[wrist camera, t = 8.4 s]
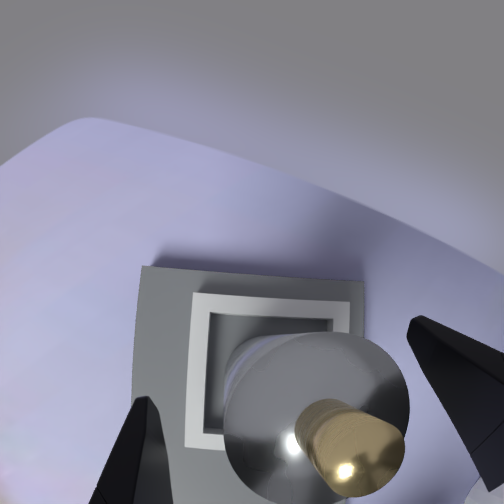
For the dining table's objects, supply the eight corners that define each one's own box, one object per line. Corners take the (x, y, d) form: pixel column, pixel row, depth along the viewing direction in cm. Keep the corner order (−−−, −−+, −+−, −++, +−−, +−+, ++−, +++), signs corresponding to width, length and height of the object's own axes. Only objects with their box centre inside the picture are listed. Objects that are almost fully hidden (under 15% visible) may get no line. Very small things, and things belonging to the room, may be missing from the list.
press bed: (330, 535, 15) (340, 552, 13) (143, 530, 14) (135, 548, 12) (355, 285, 21) (372, 277, 18) (147, 270, 20) (136, 260, 17)
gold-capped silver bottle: (323, 386, 17) (489, 449, 4) (253, 431, 16) (310, 586, 3) (280, 319, 18) (406, 272, 5) (207, 363, 17) (163, 431, 4)
